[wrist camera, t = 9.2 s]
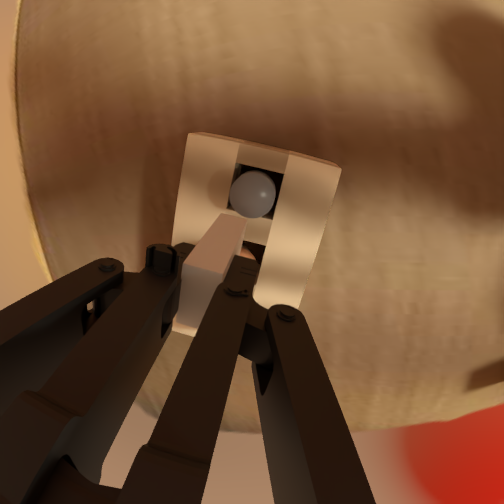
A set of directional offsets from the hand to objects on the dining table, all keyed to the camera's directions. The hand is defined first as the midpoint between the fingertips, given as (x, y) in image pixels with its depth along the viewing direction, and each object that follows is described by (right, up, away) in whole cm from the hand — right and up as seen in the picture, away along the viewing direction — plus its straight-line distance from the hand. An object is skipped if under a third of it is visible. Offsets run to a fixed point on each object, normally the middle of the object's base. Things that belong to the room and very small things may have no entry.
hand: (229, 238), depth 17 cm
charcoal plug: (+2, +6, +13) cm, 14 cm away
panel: (+1, 0, +18) cm, 18 cm away
